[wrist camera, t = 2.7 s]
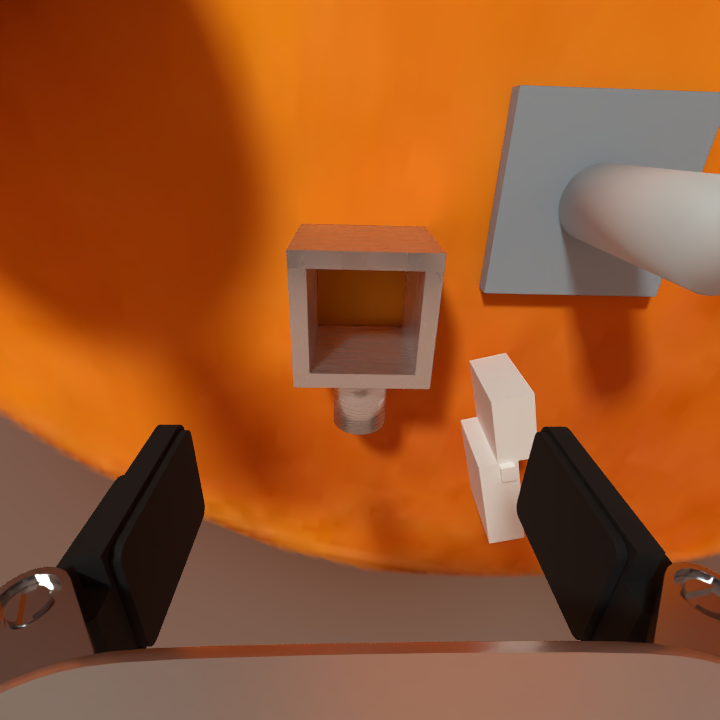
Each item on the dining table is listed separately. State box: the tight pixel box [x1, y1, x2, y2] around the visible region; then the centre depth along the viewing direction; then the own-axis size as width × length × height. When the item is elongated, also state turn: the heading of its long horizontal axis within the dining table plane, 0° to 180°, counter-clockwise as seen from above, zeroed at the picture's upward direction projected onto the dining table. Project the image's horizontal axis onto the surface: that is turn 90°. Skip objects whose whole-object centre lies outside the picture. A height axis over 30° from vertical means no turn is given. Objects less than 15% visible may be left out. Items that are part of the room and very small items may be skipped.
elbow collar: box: [286, 224, 446, 435], centre depth 23 cm, size 10×7×6 cm, turn 178°
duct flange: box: [480, 85, 720, 297], centre depth 18 cm, size 10×10×10 cm
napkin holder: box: [461, 353, 537, 543], centre depth 28 cm, size 15×11×6 cm
